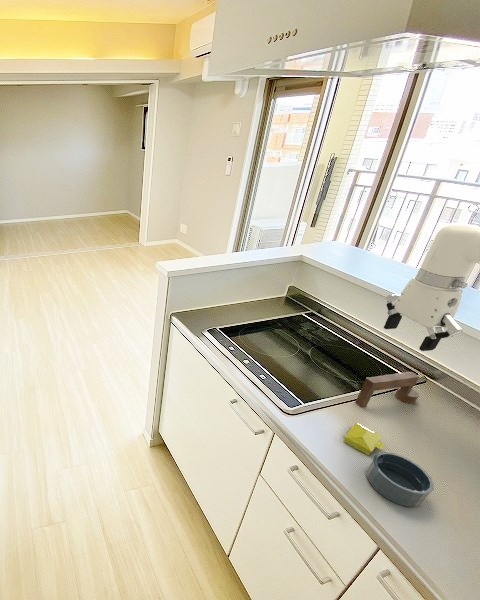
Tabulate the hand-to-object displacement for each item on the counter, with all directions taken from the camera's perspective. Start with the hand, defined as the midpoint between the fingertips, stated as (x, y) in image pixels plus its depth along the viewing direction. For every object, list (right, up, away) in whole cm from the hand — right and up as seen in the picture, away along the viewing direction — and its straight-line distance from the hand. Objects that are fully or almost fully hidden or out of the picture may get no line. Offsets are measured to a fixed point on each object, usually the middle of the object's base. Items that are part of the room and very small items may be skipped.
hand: (406, 338), depth 84 cm
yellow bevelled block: (-13, -26, -2) cm, 29 cm away
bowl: (-15, -31, -12) cm, 37 cm away
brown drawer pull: (+3, -19, +9) cm, 21 cm away
